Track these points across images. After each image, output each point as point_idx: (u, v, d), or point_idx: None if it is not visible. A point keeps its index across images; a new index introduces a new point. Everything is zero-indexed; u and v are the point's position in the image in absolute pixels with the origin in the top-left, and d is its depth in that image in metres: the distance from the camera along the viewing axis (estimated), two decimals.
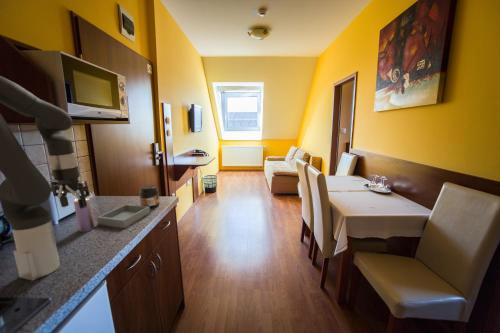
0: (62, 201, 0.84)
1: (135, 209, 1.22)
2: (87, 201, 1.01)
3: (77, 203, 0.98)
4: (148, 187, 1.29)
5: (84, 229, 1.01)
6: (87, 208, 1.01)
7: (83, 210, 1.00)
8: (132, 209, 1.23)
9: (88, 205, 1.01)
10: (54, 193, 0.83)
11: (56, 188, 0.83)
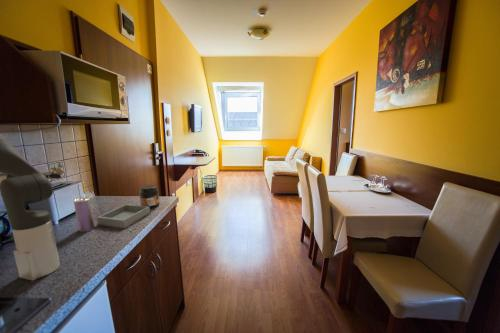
0: None
1: (135, 209, 1.22)
2: (87, 201, 1.01)
3: (77, 203, 0.98)
4: (148, 187, 1.29)
5: (84, 229, 1.01)
6: (87, 208, 1.01)
7: (83, 210, 1.00)
8: (132, 209, 1.23)
9: (88, 205, 1.01)
10: None
11: None
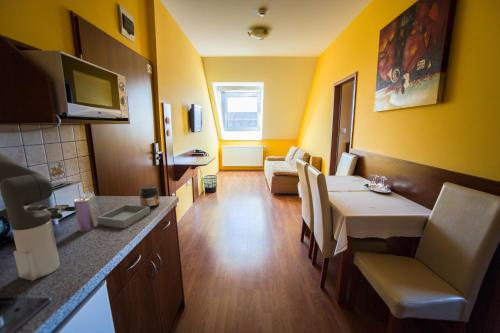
0: None
1: (135, 209, 1.22)
2: (87, 201, 1.01)
3: (77, 203, 0.98)
4: (148, 187, 1.29)
5: (84, 229, 1.01)
6: (87, 208, 1.01)
7: (83, 210, 1.00)
8: (132, 209, 1.23)
9: (88, 205, 1.01)
10: None
11: None
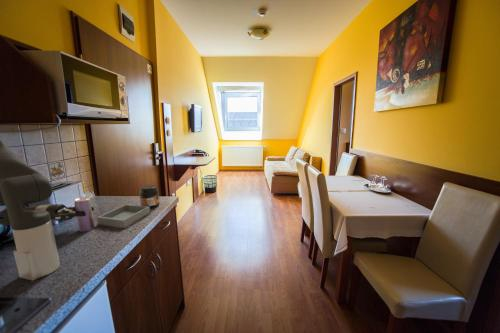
0: None
1: (135, 209, 1.22)
2: (87, 201, 1.01)
3: (77, 203, 0.99)
4: (148, 187, 1.29)
5: (84, 229, 1.01)
6: (87, 208, 1.01)
7: (83, 210, 1.00)
8: (132, 209, 1.23)
9: (88, 205, 1.01)
10: (68, 213, 0.97)
11: None
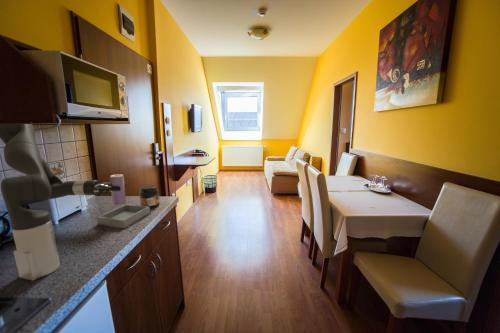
0: None
1: (135, 209, 1.22)
2: (122, 177, 1.10)
3: (113, 178, 1.07)
4: (148, 187, 1.29)
5: (118, 203, 1.10)
6: (121, 183, 1.10)
7: (118, 185, 1.08)
8: (132, 209, 1.23)
9: (122, 181, 1.10)
10: (105, 187, 1.05)
11: None
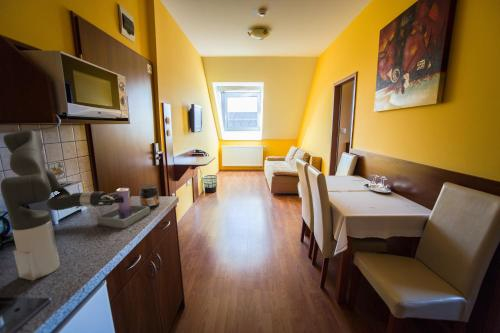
0: None
1: (135, 209, 1.22)
2: (127, 191, 1.12)
3: (119, 193, 1.09)
4: (148, 187, 1.29)
5: (124, 216, 1.12)
6: (127, 197, 1.12)
7: (124, 199, 1.11)
8: (132, 209, 1.23)
9: (128, 195, 1.12)
10: (109, 200, 1.06)
11: None
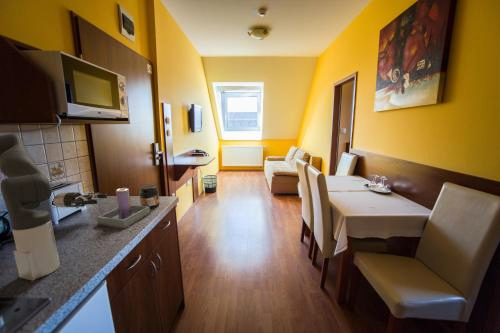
0: None
1: (135, 209, 1.22)
2: (127, 191, 1.12)
3: (119, 192, 1.10)
4: (148, 187, 1.29)
5: (124, 216, 1.12)
6: (127, 197, 1.12)
7: (124, 199, 1.11)
8: (132, 209, 1.23)
9: (128, 195, 1.12)
10: (81, 201, 1.05)
11: None
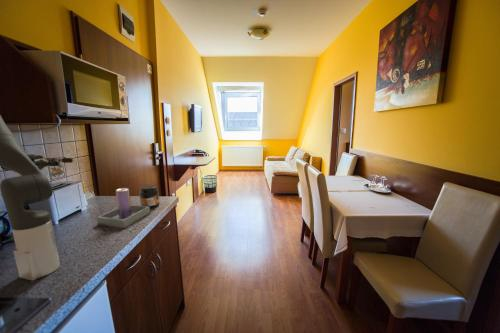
0: None
1: (135, 209, 1.22)
2: (127, 191, 1.12)
3: (119, 192, 1.10)
4: (148, 187, 1.29)
5: (124, 216, 1.12)
6: (127, 197, 1.12)
7: (124, 199, 1.11)
8: (132, 209, 1.23)
9: (128, 195, 1.12)
10: (40, 161, 0.94)
11: None
